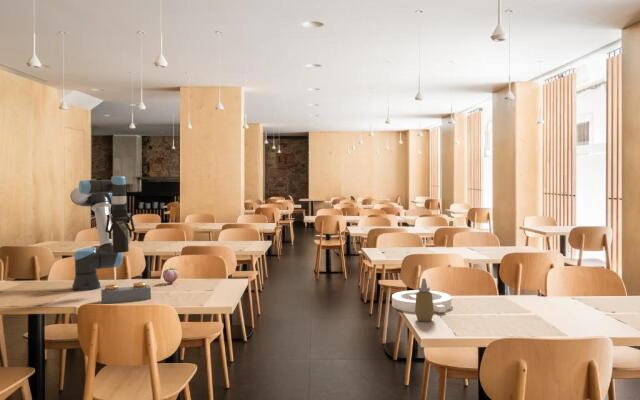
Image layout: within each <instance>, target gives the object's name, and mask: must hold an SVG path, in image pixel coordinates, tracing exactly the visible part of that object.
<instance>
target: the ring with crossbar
mask: <svg viewBox="0 0 640 400" xmlns="http://www.w3.org/2000/svg"><path fill="white" fill-rule="evenodd" d="M417 292H419V289H417V290H416V289H415V290H404V291H403V290H401V291H398V292H395V293H393V294H392V295H391V306H392V307H393V308H394V309H397V310H399V311H403V312H409V313H415V304H416V293H417ZM429 292H431V293H432V299H433V308H434V313H446V311H447V310H448V311H449V310H450V309H452V296H451V294H449V293H446V292H441V291H435V290H434V291H433V290H430V291H429Z"/></svg>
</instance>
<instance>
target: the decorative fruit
mask: <svg viewBox="0 0 640 400" xmlns="http://www.w3.org/2000/svg"><path fill="white" fill-rule="evenodd" d="M178 277H179V272H178V268H175V267H172V268H171V267H170V268H166V269H165V270H163V273H162V278H163V280H164V281H165V282H166V283H168V284H170V283H171V284H172V283H174V282H175V281H176V280H177V279H178Z"/></svg>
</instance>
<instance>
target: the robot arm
mask: <svg viewBox="0 0 640 400" xmlns="http://www.w3.org/2000/svg"><path fill="white" fill-rule="evenodd" d="M69 197H70V200H71V202H73V204H75V205H77V206H80V207H90V209H91V211H93V212H94V215H95V217H94V218H95V223H96V230H97V234H98V240H99V245H98V247H97V249H96V247H95V246H93V247H86V248H81V249H80V248H79V249H78V250H76V251H75V252H74V258H73V260H74V274H75V275H74V279H73V284H72V288H71V289H72V290H73V289H74V290H73V291H89V290H90V289H91V290H96V289H100V288H101V282H100V280H99V277H98V274H97V272H98V271H97V270H101V269H114V268H119V267H120V266H121V265H122V263H123V258H124V257H123V255H124V252H121V253H115V252H113V224H112V220H111V218H112V217H128V218H129V221H130V225H129V223H128V222H127V228H128V245H130V244H131V241H130V239H131V238H133V237H132V235H133V234H132V233H133V232H135V231H136V229H135V224H134V220H133V216H134V214H133V213H129V212H128V206H127V181H126V176H124V175H118V176H117V175H116V176H114V175H113V176H111V179H97V180H96V179H95V180H94V179H85V180H79V183H78V187H76V188H74V189H73V190H72V191H71V192H70V195H69ZM111 208H112V212H111V213H110V209H111ZM130 226H131V227H130ZM91 290H90V291H91Z"/></svg>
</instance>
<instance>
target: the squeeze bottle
mask: <svg viewBox="0 0 640 400" xmlns="http://www.w3.org/2000/svg"><path fill="white" fill-rule="evenodd" d="M421 279H422V281H421V284H420V285H419V286H418V290H419V292H417V293H416V304H415V312H414V313H415V316H416V318H417V321H419V322H426V323H428V322H431V321H432V319H433V316H434V313H435V312H434V308H433V299H432V293H431V292H429V291H431V288H430V286H428V284H427V280H426V278H421Z"/></svg>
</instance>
